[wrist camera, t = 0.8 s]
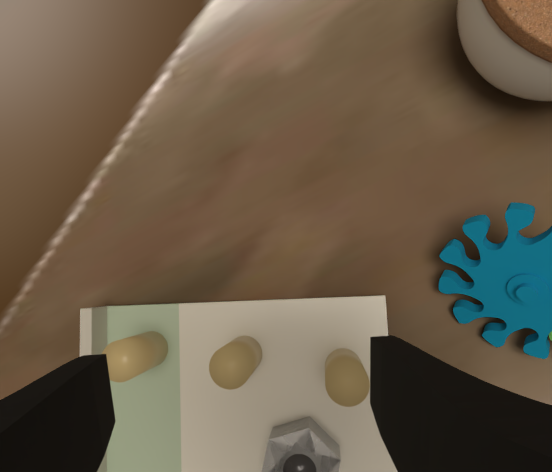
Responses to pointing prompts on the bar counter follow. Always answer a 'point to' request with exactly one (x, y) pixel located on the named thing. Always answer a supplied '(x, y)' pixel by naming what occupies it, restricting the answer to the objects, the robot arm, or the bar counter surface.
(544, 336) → the gear
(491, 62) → the lidded bowl
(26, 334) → the bar counter surface
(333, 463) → the nut
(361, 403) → the tray
